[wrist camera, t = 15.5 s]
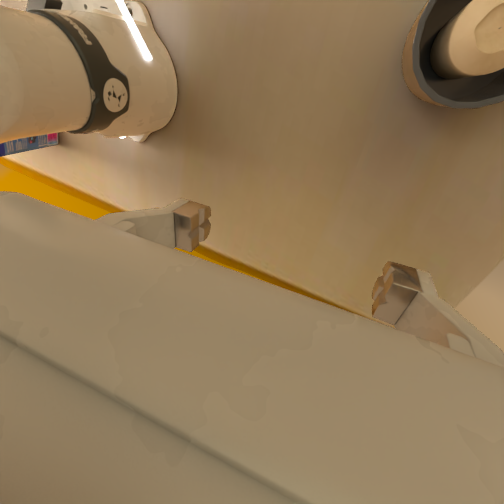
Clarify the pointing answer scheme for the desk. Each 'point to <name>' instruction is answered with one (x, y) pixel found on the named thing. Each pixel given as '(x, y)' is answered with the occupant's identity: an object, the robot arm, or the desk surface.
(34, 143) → the ink cartridge box
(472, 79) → the pen holder
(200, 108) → the desk surface
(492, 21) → the candle
